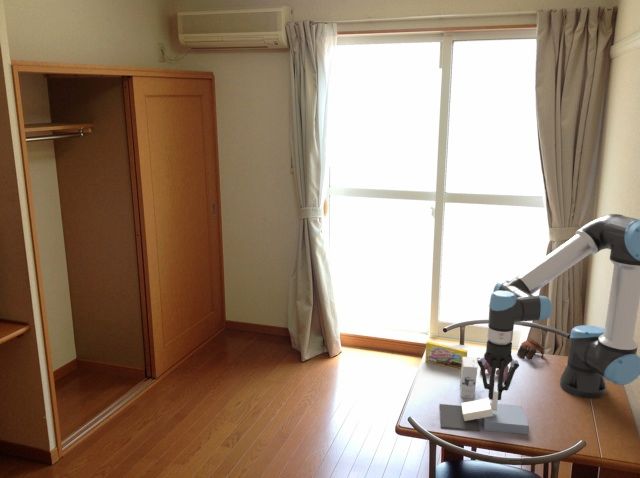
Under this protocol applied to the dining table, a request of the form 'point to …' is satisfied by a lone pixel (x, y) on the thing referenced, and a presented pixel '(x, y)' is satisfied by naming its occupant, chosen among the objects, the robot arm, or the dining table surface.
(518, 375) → the dining table surface
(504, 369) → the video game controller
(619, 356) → the robot arm
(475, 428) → the mat
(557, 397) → the dining table surface
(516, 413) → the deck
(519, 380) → the dining table surface
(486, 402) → the tile
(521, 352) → the brown animal figurine
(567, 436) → the dining table surface
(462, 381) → the ink box
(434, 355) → the candy box
